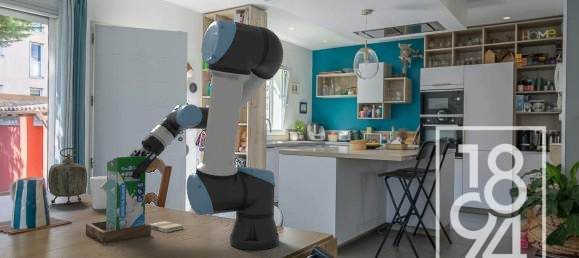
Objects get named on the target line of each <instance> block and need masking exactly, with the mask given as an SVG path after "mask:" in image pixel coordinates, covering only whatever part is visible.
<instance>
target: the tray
mask: <svg viewBox="0 0 579 258" xmlns="http://www.w3.org/2000/svg"><path fill="white" fill-rule="evenodd" d="M150 224H151V223H148V222H145V225H142V226H136V227H129V228H123V229H116V230H110V231H106V220H101V221H100V220H99V221H94V222H86V223H85V234H86V236H88V237H90V238H92V239H93V240H95V241H97V242H99V243H100V244H102V245H103V244H104V243H105V244H110V243H115V242H116V243H117V242H121V241H127V240H132V239H137V238H144V237H149V236H151V235H152V234H151V233H152V229H151V225H150Z"/></svg>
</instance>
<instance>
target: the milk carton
mask: <svg viewBox="0 0 579 258" xmlns="http://www.w3.org/2000/svg"><path fill="white" fill-rule="evenodd" d="M145 159H146V156H133V157H131V156H130V154H128V155H126V154H125V155H119V156H117V157H115V158H112V159H111V160H108V161H107V162H106V176H107V201H106V209H105V214H106V215H105V221H106V231H110V230H116V229H123V228H129V227H136V226H142V225H145V223H146V177H147V176H146V173H147V170H146V171H145V172H144V173H143V174H142V176H141V177H140V178H139V179H133V178H132V177H131V176H132V173H133V172H134V171H135V169H136V168H137V167H138V166H139V165H140V164H141V163H142V162H143V161H144V160H145ZM137 174H138V173H137ZM138 175H139V174H138ZM114 187H116V190H115V194H114V193H113V192H112V191H111V190H112V189H113V188H114Z"/></svg>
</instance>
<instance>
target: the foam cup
mask: <svg viewBox="0 0 579 258" xmlns="http://www.w3.org/2000/svg"><path fill="white" fill-rule="evenodd" d="M106 180H107V175H105V176H104V175H102V176H99V175H98V176H92V177H91V176H90V177H89V184H90V191H91V199H92V209H94V210H106V201H107V193H106V192H105V191H104V190H103V189H102V188H100V187H101V186H102V185H103V183H104V182H105V181H106Z"/></svg>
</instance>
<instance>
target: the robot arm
mask: <svg viewBox="0 0 579 258" xmlns="http://www.w3.org/2000/svg"><path fill="white" fill-rule="evenodd" d="M200 51H201V53H202V54H201V59H202V60H203V62H204V63H205V64H207V71H208V72H209V74H210V75H211V76H212V78H211V79H212V80H211V86H210V87H211V88H210V96H209V105H208V107H203V106H197V105H196V104H192V103H190V104H185V105H181V104H178V105H176V106H175V107H174V108H172V109H171V110H170V112H169V113H168V114H167V115H166V116H165V117H164V118H163V119H162V120H161V122H159V123H158V124H157V125H156V126H155V127H153V129H152V130H151V131H150V132H149V134H147V135H146V136H145V137H144V138H143V139H142V140H141V145H142V147H141V148H140V149H138V150H137V149H134V150H133V151H132V152H131V154H129V155H130V156H131V157H133V156H146V159H145V160H144V161H143V162H142V163H141V164H140V165H139V166H138V167H137V168H136V169H135V171H134V172H133V173H132V176H131V177H132V178H133V179H139V178H140V177H141V176H142V174H143V173H144V172H145V171H146V172H147V169H148V168H149V167H150V166H151V164H152V163H153V162H154V161H156V159H157V158H158V157H159V156H160V155H161V154H162V153H163V152H164V151H165V149H166V148H167V147H168V146H170V145H172V142H173V141H174V140H175V139H176V138H177V137H178V136H179V135H180V134H181V133H182V132H183V131H185V130H191V129H192V130H195V129H196V130H205V140H204V147H203V155H202V161H200V162H199V163H197V165H196V167H195V172H194V173H191V174H189V175H188V178H187V179H186V195H187V199H188V202H189V203H188V204H189V205H190V207H191V209H192V211H193V212H194V213H195V214H196V215H199V216H202V215H203V216H204V215H205V216H206V215H208V216H209V215H210V216H213V215H217V214H226V213H233V212H235V220H234V223H233V225H232V226H233V227H232V230H231V233H230V235H229V244H230V247H231V246H232V247H233V248H236V249H240V250H246V251H247V250H248V251H249V250H250V251H252V250H253V251H259V250H267V249H272V248H275V247H277V246H278V245H279V244H280V235H279V231H278V228H277V225H276V221H275V186H276V183H275V182H276V181H275V173H274V172H273V171H272V170H269V169H263V168H257V167H256V168H255V167H249V166H248V167H247V166H238V167H237V166H236V165H235V164H234V162H235V161H234V160H235V153H236V145H237V144H236V143H237V136H238V129H239V121H240V115H241V110H242V109H243V108H244V107H245V106H246V105H247V103H248V102H249V101H250V100H251V99H252V97H253V96H254V95H255V94H256V93H257V91H259V89H260V88H261V87H262V85H263V84H264V83H265V82H266V81H269V80H272V79H273V78H274V76H275V75H276V74H277V73H278V72H279V70H280V68H281V66H282V63H283V60H284V47H283V44H282V41H281V40H280V38H279V36H278V35H277V34H276V33H275V32H274V31H273V30H271V29H269V28H267V27H264V26H256V25H251V24H247V23H243V22H238V21H234V20H223V19H218V20H214V21H213V22H212V23H211V24H210V25H209V26H208V28H207V30H206V31H205V33H204V36H203V39H202V43H201V50H200ZM137 173H138V174H139V175H138V174H137ZM100 188H102V189H103V190H104V191H105V192H106V193H107V180H106V181H105V182H104V183H103V185H102V186H101V187H100ZM115 190H116V187H114V188H113V189H112V190H111V191H112V192H113V193H114V194H115Z"/></svg>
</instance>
